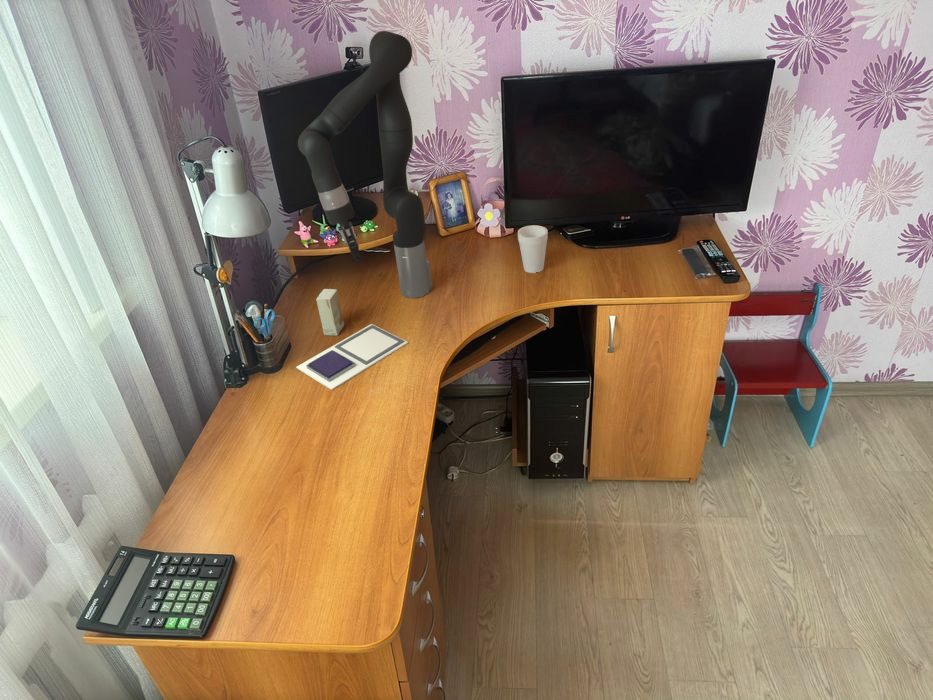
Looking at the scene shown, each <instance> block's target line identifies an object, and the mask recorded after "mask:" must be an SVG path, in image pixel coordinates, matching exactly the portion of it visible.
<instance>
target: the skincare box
mask: <svg viewBox="0 0 933 700" xmlns="http://www.w3.org/2000/svg"><path fill="white" fill-rule="evenodd" d="M316 305H317V309H318V313H319V318H320V322H321V326H322V331H323V335H324V336H339V334H340V332H341V331H342V330H343V328H344V326H345V321H344V317H343V312H342V308H341V302H340V298H339V291H338V289H332V288H323V290H322V291H320V293H319V295H318V296H317V298H316Z"/></svg>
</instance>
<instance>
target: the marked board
mask: <svg viewBox="0 0 933 700" xmlns="http://www.w3.org/2000/svg"><path fill="white" fill-rule="evenodd" d="M408 344H409V341H407V340H405V339H403V338H400V337H399V336H397V335H395V334H392V333H390V332H389V331H387V330H385V329H383V328H381V327H378V326H377V325H375V324H373V323H371V324H369V325H367V326H366V327H363V328H362V329H360V330H358V331H357V332H355V333H353V334H351V335H349V336H348V337H346V338H344V339H343V340H340V341H339V342H337V343H335V344H334V345H332V346H330V347H329V348H327V349H324V350H323V351H321V352H320V353H318V354H316V355H315V356H313V357H311V358H309V359H307V360H306V361H304V362H303V363H301V364H298V365H297V366H296V369H297V370H299V371H300V372H302V373H303V374H305V375H307V376H308V377H310V378H312V379H313V380H315V381H316V382H318V383H320V384H321V385H322V386H324V387H326V388H327V389H329V390H331V391H333V390H334V389H336V388H338V387H339V386H341V385H343V384H344V383H347V382H348V381H349V380H351V379H352V378H355V377H356V376H357V375H359V374H360V373H362V372H364V371H365V370H367V369H369V368H371V367H372V366H374V365H376V364H377V363H378V362H380V361H382V360H384V359H385V358H387V357H389V356H390V355H392V354H393V353H394V352H396V351H398V350H400V349H402V348H403V347H405V346H406V345H408ZM331 350H333V351H335V352H337V353H339V354H340V355H342V356H344V357H346V358H347V359H349V360H351V361H353V362H354V363H355V365H356V366H355V367H353V368H351V369H350V370H348V371H347V372H345V373H343V374H342V375H340V376H338V377H337V378H335V379H333V380H332V381H330V382H328V381H327V380H325V379H323V378H322V377H320V376H319V375H317V374H315V373H314V372H312V371H311V370H309V369H307V366H306V365H308V364H309V363H310V362H312V361H314V360H316V359H317V358H319V357H321V356H323V355H324V354H326V353H328V352H330V351H331ZM370 366H371V367H370Z"/></svg>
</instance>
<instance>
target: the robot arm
mask: <svg viewBox="0 0 933 700" xmlns="http://www.w3.org/2000/svg"><path fill="white" fill-rule="evenodd" d="M368 53H369V54H368V55H369V61H370V65H369V66H368V67H367V69H366V70H365V71H364V72H362V74H361V75H360V76H358V77H357V78H355V79H354V80H353V81H352V82H350V83H349V84H348V85H346V86H345V87H344V88H342V89H341V90H340V91H338V92H337V94H336V95H335V96H334V97H333V98H332V100H331V101H330V102H329V103H328V104H327V106H326V107H325V108H324V109H323V110H322V112H321V114H319V115H318V116H317V117H316V118H315V119H314V120H312V121H311V122H310V124H309V125H307V126H306V128H304V130H303V131H302V132H301V133H300V135H299V137H298V139H297V147H298V150H299V151H300V153H301V154H302V155H303V156H305V158H306V161H307V163H308V166H309V168H310V171H311V178H312V181H313V184H314V186H315V190H316V191H317V195H318V198H319V201H320V203H321V206H322V209H323V211H324V214H325V216H326V218H327V221H328V223H329V224H330V225H332V226H333V225H339V226H338V227H337V230H338V231H339V234H340V236H341V237H342V239H343V241H344V243H345V244H346V245H347V246H348V249H349V252H350V253H351V255H352V258H353V261H354V262H355V263H356V264H357V263H360V262H361V261H363V257H362V254H361V251H360V249H359V246H360V245H359V244H358V242H357V241H358V238H357V235H356V233H355V228H354V226H353V224H352V222H351V221H350V222H349V220H352V218H354V217H355V211H354V208H353V205H352V203H351V200H350V197H349V195H348V192H347V190H346V188H345V186H344V184H343V182H342V179H341V177H340V174H339V171H338V169H337V167H336V162H335V159H334V156H333V152H332V148H331V145H330V143H331V141H332V140H333V139H334V137H336V136H337V135H339V134H341V133H342V132H343V131H345V130H346V128H347V127H348V126H349V125H350V124H351V123H352V121H353V120H354V119H355V118H356V116H358V114H359V113H360V112H361V111H362V110H363V108H364V107H365V106H366V105H367V104H368V103H369V102H370V101H371V100H372V99H373V98H374V97H375V96H376V109H377V120H378V121H377V122H378V125H377V126H378V134H379V144H380V153H381V161H382V162H381V163H382V172H383V173H382V174H383V175H382V176H383V180H382V182H383V186H382V187H383V189H382V190H383V191H382V193H383V195H382V196H383V199H382V201H383V202H382V203H383V207H384V210H385V213H386V214H387V215H388V216H389V217H391V218H392V219H394V220H395V221H396V228H397V229H396V230H395V231H394V233H393V235H392V242H393V248H394V255H395V261H396V262H395V263H396V267H397V274H398V279H399V280H398V281H399V286H400V292H401V295H402V296H403V297H406V298H409V299H416V298H421V297H425V296H426V295H428V294H429V293H430V292H431V289H433V280H432V274H431V273H432V272H431V265H430V260H428V259H427V253H426V246H425V238H424V235H425V232H426V224H425V223H426V222H425V210H424V205H423V201H422V198H421V197H420V196H419V195H417V194H416V193H415V192H412V191H410V190H409V186H408V179H407V178H408V177H407V168H408V167H407V166H408V162H409V159H410V158H411V157H410V156H411V154H412V151H413V145H414V138H413V137H414V135H413V134H414V133H413V123H412V117H411V114H410V111H409V107H408V105H407V102H406V98H405V96H404V93H403V89H402V85H401V74H400V73H402V72H403V71H404V70H405V69H406V68H407V67H408V66H409V64H410V63H411V61H412V58H413V47H412V45H411V42H410V40H408V38H406V37H404V36H403V35H401V34H399V33H395V32H392V31H387V30H381V31H378V32H376V33H375V34H374V35H373V36H372V38H371V39H370V42H369V48H368Z"/></svg>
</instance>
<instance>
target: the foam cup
mask: <svg viewBox="0 0 933 700" xmlns="http://www.w3.org/2000/svg"><path fill="white" fill-rule="evenodd" d="M548 231H549V230H548V229H547V227H545V226H541V225H538V224H537V225H535V224H533V225H525V226H523V227H521V228H519V229H518V230H517V241H518V244H519V249H520V253H521V254H520V255H521V260H522V265H523V270H524V271H525V272H527V273H528V274H537V273H536V272H538V273H540V271H541V272H542V271H544V267H545V260H546V259H545V258H546V251H547V241H548V236H549V235H548V234H549V233H548Z"/></svg>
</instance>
